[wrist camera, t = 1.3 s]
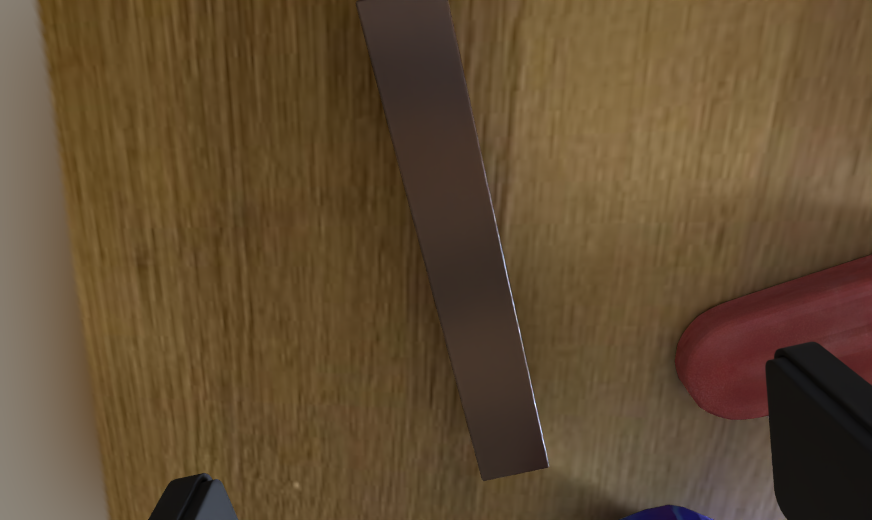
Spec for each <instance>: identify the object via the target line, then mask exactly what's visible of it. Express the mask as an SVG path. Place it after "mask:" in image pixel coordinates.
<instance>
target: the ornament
mask: <svg viewBox="0 0 872 520" xmlns="http://www.w3.org/2000/svg"><path fill="white" fill-rule="evenodd" d="M619 520H714V519H711V518H709V517H706V516H704V515H701V514H699V513H697V512H694V511H692V510H689V509H687V508H684V507H680V506H674V505H665V506H660V507H655V508H651V509H646V510H643V511H640V512H637V513H635V514H632V515H630V516H627V517H624V518H622V519H619Z"/></svg>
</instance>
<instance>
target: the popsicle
mask: <svg viewBox="0 0 872 520" xmlns="http://www.w3.org/2000/svg"><path fill="white" fill-rule="evenodd" d="M807 342H817V343H818V344H820V345H821V346H823V347H824V348H825V349H826V350H828V351H829V352H830V353H831V354H833V355H834V356H835V357H837V358H838V359H839V360H840V361H842V362H843V363H844V364H845V365H847V366H848V367H849V368H850V369H852V370H853V371H854V372H856V373H857V374H858V375H859V376H861V377H862V378H863V379H864V380H866V381H867V382H868V383H869V384H871V385H872V255H869V256H866V257H863V258H859V259H856V260H853V261H850V262H847V263H844V264H841V265H838V266H835V267H832V268H829V269H825V270H822V271H819V272H816V273H813V274H810V275H807V276H804V277H801V278H798V279H795V280H792V281H789V282H785V283H782V284H779V285H776V286H773V287H770V288H767V289H764V290H761V291H758V292H755V293H752V294H749V295H746V296H743V297H740V298H737V299H734V300H731V301H728V302H725V303H722V304H720V305H718V306H716V307H713V308H711V309H709V310H707V311H706V312H704V313H703V314H701V315H699V316H698V317H697V318H696V319H695V320H694V321H693V322H692V323H691V324H690V325H689V326H688V327H687V329H686V330H685V331H684V333H683V334H682V336H681V338H680V340H679V342H678V345H677V351H676V357H675V366H676V371H677V374H678V378H679V379H680V381H681V382H682V383H683V385H684V386H685V388H686V389H687V391H688V393H689V394H690V395H691V397H692V398H693V399H694V401H695V402H696V403H697V405H698V406H699V407H700V408H702V409H703V410H705V411H706V412H708V413H710V414H713V415H715V416H718V417H721V418H726V419H730V420H744V419H752V418H759V417H764V416H768V415H769V413H768V399H767V386H766V373H765V365H766V362H767V361H768V360H771V359H774V354H775V351H776V350H777V349H779V348H784V347H788V346H793V345H798V344H802V343H807Z"/></svg>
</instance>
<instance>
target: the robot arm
mask: <svg viewBox="0 0 872 520" xmlns="http://www.w3.org/2000/svg"><path fill="white" fill-rule="evenodd" d="M765 373H766V386H767V399H768V413H769V426H770V439H771V452H772V466H773V479H774V491H775V496H776V499H777V502H778V505H779V507H780V509H781V511H782V513H783V514H784V516H785V517H786V518H787V520H872V385H871V384H869V383H868V382H867V381H866V380H864V379H863V378H862V377H861V376H859V375H858V374H857V373H856V372H854V371H853V370H852V369H850V368H849V367H848V366H847V365H845V364H844V363H843V362H842V361H840V360H839V359H838V358H837V357H835V356H834V355H833V354H831V353H830V352H829V351H828V350H826V349H825V348H824V347H823V346H821V345H820V344H818V343H817V342H807V343H802V344H798V345H793V346H788V347H784V348H779V349H777V350H776V351H775V354H774V359H771V360H768V361H767V362H766V365H765ZM148 520H238V518H237V516H236V513H235V511H234V509H233V506H232V504H231V502H230V499H229V497H228V495H227V492H226V490H225V488H224V486H223V484H222V482H221V481H220V480H218V479H215V480H212V478H211V477H210V476H209V475H208V474H206V473H202V474H197V475H193V476H188V477H183V478H179V479H175V480H172V481H171V482H170V483H169V484H168V486H167V487H166V489H165V491H164V493H163V494H162V496H161V498H160V500H159V501H158V503H157V505H156V507H155V508H154V510H153V512H152V514H151V516H150V517H149V519H148Z"/></svg>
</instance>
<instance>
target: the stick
mask: <svg viewBox="0 0 872 520" xmlns="http://www.w3.org/2000/svg"><path fill="white" fill-rule="evenodd" d="M356 7H357V11H358V15H359V19H360V22H361V26H362V30H363V34H364V37H365V41H366V45H367V49H368V53H369V56H370V60H371V64H372V68H373V71H374V75H375V79H376V83H377V86H378V90H379V94H380V98H381V102H382V105H383V109H384V113H385V117H386V120H387V124H388V128H389V132H390V135H391V139H392V143H393V147H394V150H395V154H396V158H397V162H398V166H399V169H400V173H401V177H402V181H403V184H404V188H405V192H406V196H407V199H408V203H409V207H410V211H411V214H412V218H413V222H414V226H415V230H416V233H417V237H418V241H419V245H420V248H421V252H422V256H423V260H424V263H425V267H426V271H427V275H428V279H429V282H430V286H431V290H432V294H433V297H434V301H435V305H436V309H437V312H438V316H439V320H440V324H441V327H442V331H443V335H444V339H445V343H446V346H447V350H448V354H449V358H450V361H451V365H452V369H453V373H454V376H455V380H456V384H457V388H458V392H459V395H460V399H461V403H462V407H463V410H464V414H465V418H466V422H467V425H468V429H469V433H470V437H471V440H472V444H473V448H474V452H475V456H476V459H477V463H478V467H479V471H480V474H481V478H482V480H483V481H487V480H491V479H496V478H501V477H506V476H511V475H515V474H520V473H525V472H530V471H535V470H539V469H544V468H548V467H549V461H548V457H547V452H546V447H545V443H544V438H543V434H542V429H541V424H540V420H539V415H538V411H537V406H536V401H535V397H534V392H533V388H532V383H531V378H530V374H529V369H528V365H527V360H526V355H525V351H524V346H523V342H522V337H521V332H520V328H519V323H518V319H517V314H516V309H515V305H514V300H513V296H512V291H511V286H510V282H509V277H508V273H507V268H506V264H505V259H504V254H503V250H502V245H501V241H500V236H499V231H498V227H497V222H496V218H495V213H494V208H493V204H492V199H491V195H490V190H489V185H488V181H487V176H486V172H485V167H484V162H483V158H482V153H481V149H480V144H479V139H478V135H477V130H476V126H475V121H474V116H473V112H472V107H471V103H470V98H469V93H468V89H467V84H466V80H465V75H464V70H463V66H462V61H461V57H460V52H459V47H458V43H457V38H456V34H455V29H454V24H453V20H452V15H451V11H450V6H449V1H448V0H358V1H356Z"/></svg>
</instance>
